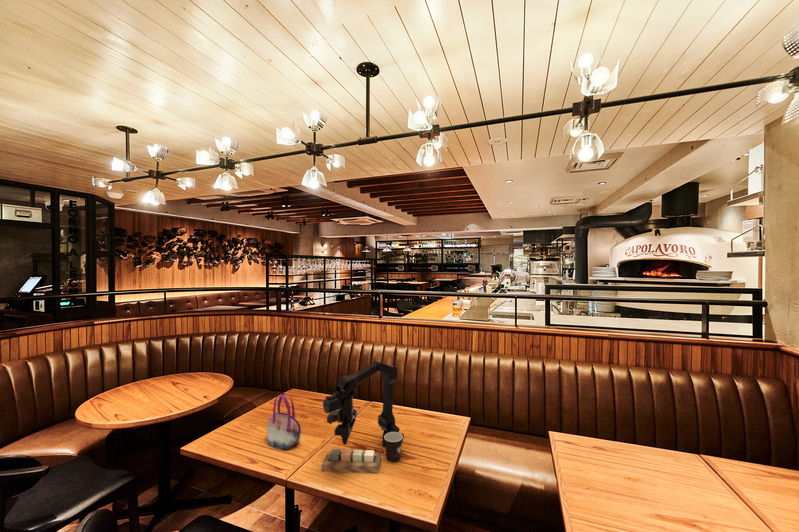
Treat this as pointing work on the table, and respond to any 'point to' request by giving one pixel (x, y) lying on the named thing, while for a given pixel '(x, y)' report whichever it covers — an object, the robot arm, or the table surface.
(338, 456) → the gray cube
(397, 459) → the coffee mug
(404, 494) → the table surface
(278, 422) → the handbag
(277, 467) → the table surface
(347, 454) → the pink cube
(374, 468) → the key bezel
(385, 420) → the robot arm
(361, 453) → the key sage
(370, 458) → the key ivory
